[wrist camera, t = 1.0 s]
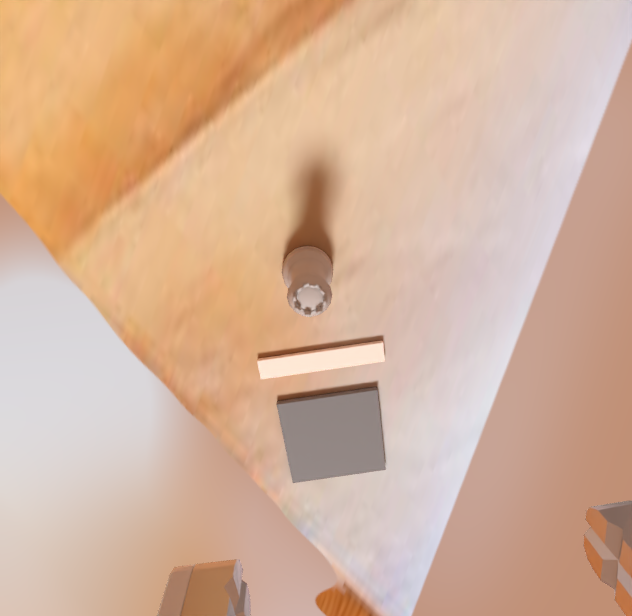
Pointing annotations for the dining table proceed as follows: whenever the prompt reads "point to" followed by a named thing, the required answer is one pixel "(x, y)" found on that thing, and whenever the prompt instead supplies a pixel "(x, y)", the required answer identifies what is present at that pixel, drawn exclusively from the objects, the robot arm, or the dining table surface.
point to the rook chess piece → (308, 280)
